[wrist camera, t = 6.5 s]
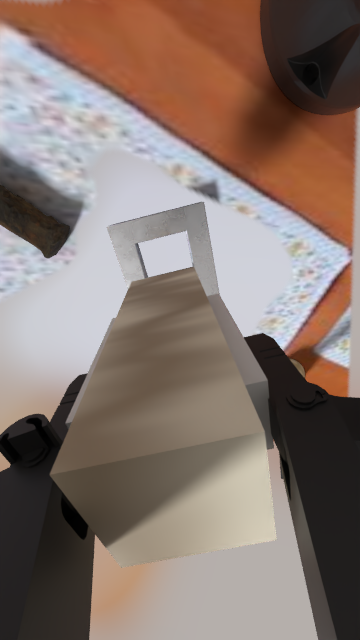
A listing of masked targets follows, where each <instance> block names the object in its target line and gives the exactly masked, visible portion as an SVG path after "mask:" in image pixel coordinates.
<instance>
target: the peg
mask: <svg viewBox="0 0 360 640" xmlns="http://www.w3.org/2000/svg"><path fill="white" fill-rule="evenodd" d="M50 476H51V478H52V479H53V480H54V481H55V483H56V484H57V485H58V487H59V488H60V489H61V490H62V492H63V493H64V494H65V496H66V497H67V498H68V500H69V501H70V502H71V503H72V505H73V506H74V507H75V509H76V510H77V511H78V512H79V514H80V515H81V516H82V518H83V519H84V520H85V522H86V523H87V524H88V525H89V527H90V528H91V529H92V531H93V532H94V533H95V534H96V536H97V537H98V538H99V540H100V541H101V542H102V543H103V545H104V546H105V547H106V548H107V550H108V551H109V553H110V554H111V555H112V556H113V558H114V559H115V560H116V562H117V563H118V564H119V566H120V567H121V568H122V567H128V566H133V565H139V564H145V563H150V562H156V561H162V560H167V559H172V558H178V557H184V556H190V555H195V554H201V553H206V552H212V551H217V550H223V549H228V548H234V547H240V546H245V545H251V544H257V543H262V542H267V541H273V540H276V531H275V521H274V512H273V502H272V493H271V485H270V475H269V466H268V456H267V447H266V438H265V431H264V428H263V426H262V424H261V421H260V419H259V417H258V414H257V412H256V410H255V407H254V405H253V403H252V400H251V398H250V396H249V393H248V391H247V389H246V386H245V384H244V382H243V380H242V377H241V375H240V373H239V370H238V368H237V366H236V363H235V361H234V359H233V356H232V354H231V352H230V349H229V347H228V345H227V342H226V340H225V338H224V335H223V333H222V331H221V328H220V326H219V324H218V321H217V319H216V317H215V314H214V312H213V310H212V307H211V305H210V303H209V300H208V298H207V296H206V293H205V291H204V289H203V286H202V284H201V282H200V280H199V277H198V275H197V273H196V270H195V268H194V267H190V268H186V269H182V270H178V271H174V272H170V273H165V274H161V275H157V276H153V277H149V278H145V279H141V280H137V281H132V282H131V284H130V286H129V289H128V291H127V294H126V296H125V298H124V301H123V303H122V305H121V308H120V310H119V312H118V315H117V317H116V319H115V322H114V324H113V326H112V329H111V331H110V334H109V336H108V338H107V341H106V343H105V345H104V348H103V350H102V352H101V355H100V357H99V359H98V362H97V364H96V366H95V369H94V371H93V374H92V376H91V378H90V381H89V383H88V385H87V388H86V390H85V392H84V395H83V397H82V399H81V402H80V404H79V406H78V409H77V411H76V414H75V416H74V418H73V421H72V423H71V425H70V428H69V430H68V432H67V435H66V437H65V439H64V442H63V444H62V446H61V449H60V451H59V454H58V456H57V458H56V461H55V463H54V465H53V468H52V470H51V472H50Z"/></svg>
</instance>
